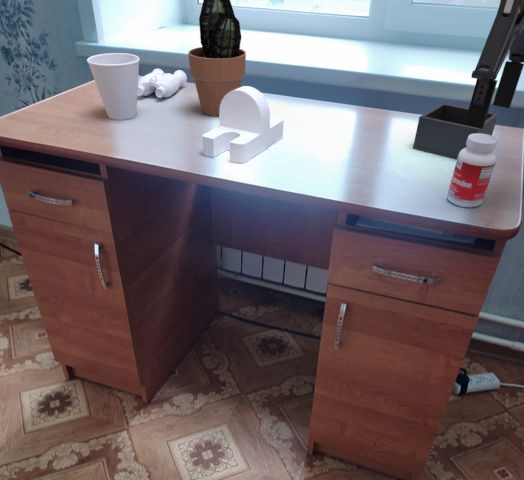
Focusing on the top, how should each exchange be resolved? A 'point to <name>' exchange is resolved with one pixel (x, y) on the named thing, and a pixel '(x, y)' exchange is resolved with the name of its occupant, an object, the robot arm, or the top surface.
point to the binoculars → (161, 83)
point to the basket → (448, 130)
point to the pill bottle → (473, 171)
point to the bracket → (243, 126)
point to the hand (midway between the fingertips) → (488, 116)
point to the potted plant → (217, 55)
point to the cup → (117, 83)
